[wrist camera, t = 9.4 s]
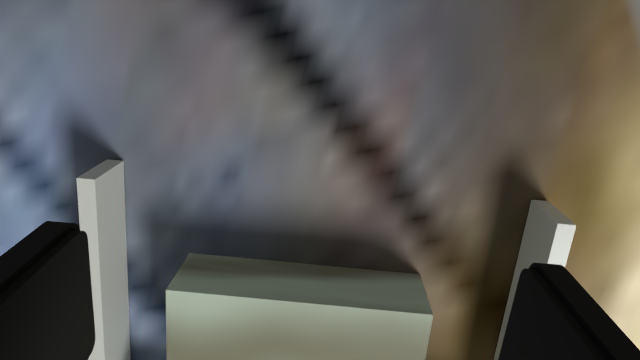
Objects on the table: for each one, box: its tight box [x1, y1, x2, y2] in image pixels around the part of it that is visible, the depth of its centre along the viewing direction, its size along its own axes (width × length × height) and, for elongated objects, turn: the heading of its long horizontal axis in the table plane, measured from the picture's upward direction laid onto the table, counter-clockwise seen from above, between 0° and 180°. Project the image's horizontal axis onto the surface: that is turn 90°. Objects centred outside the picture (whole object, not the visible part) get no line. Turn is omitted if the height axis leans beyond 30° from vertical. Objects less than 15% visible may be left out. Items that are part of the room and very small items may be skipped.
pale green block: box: [166, 253, 433, 360], centre depth 25 cm, size 5×12×4 cm, turn 85°
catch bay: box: [76, 159, 576, 360], centre depth 25 cm, size 13×22×3 cm, turn 85°
